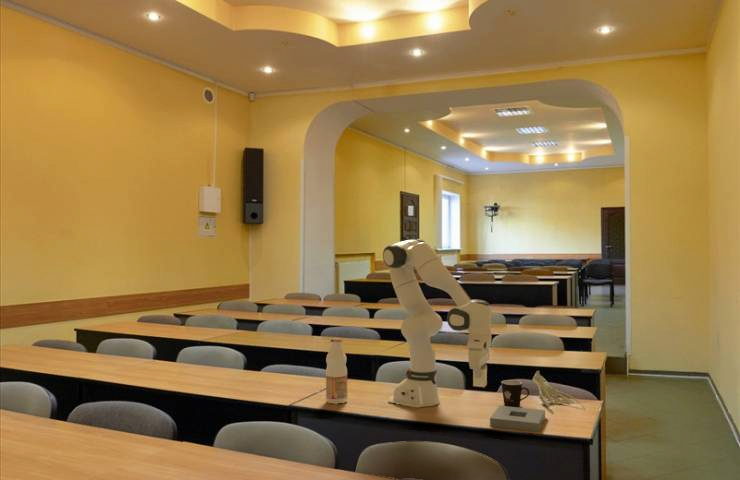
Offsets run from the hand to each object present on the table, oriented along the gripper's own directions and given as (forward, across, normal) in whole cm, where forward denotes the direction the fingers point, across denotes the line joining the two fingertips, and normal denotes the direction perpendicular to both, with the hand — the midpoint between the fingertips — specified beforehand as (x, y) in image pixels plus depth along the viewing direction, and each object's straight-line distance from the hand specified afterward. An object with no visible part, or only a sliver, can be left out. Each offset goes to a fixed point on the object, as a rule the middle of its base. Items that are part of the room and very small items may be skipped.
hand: (479, 376), depth 227 cm
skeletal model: (+17, -32, +24) cm, 43 cm away
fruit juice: (+19, -2, -64) cm, 67 cm away
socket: (+17, -2, +15) cm, 22 cm away
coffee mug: (+17, -22, +10) cm, 29 cm away
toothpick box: (+4, 0, 0) cm, 4 cm away
